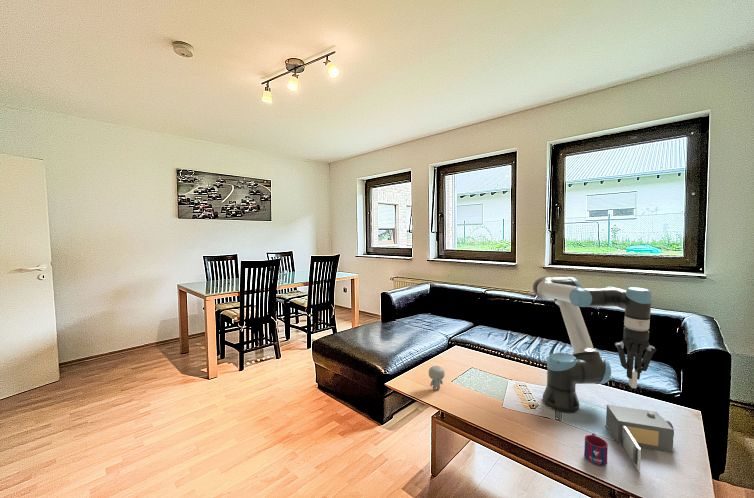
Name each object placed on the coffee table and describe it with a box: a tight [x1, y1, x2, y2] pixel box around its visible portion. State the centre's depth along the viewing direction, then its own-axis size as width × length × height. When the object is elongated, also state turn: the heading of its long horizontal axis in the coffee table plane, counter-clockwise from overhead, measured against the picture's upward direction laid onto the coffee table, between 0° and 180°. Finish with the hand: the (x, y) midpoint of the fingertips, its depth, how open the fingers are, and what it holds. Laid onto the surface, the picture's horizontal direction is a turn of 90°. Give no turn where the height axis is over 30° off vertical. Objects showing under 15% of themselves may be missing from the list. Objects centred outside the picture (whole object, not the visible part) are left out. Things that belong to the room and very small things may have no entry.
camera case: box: [605, 404, 675, 454], centre depth 122 cm, size 19×12×10 cm, turn 71°
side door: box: [621, 425, 642, 471], centre depth 112 cm, size 14×2×8 cm, turn 159°
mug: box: [583, 433, 609, 467], centre depth 113 cm, size 7×10×7 cm
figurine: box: [428, 365, 446, 391], centre depth 161 cm, size 8×8×12 cm
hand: (632, 386), depth 122 cm, fingers closed
